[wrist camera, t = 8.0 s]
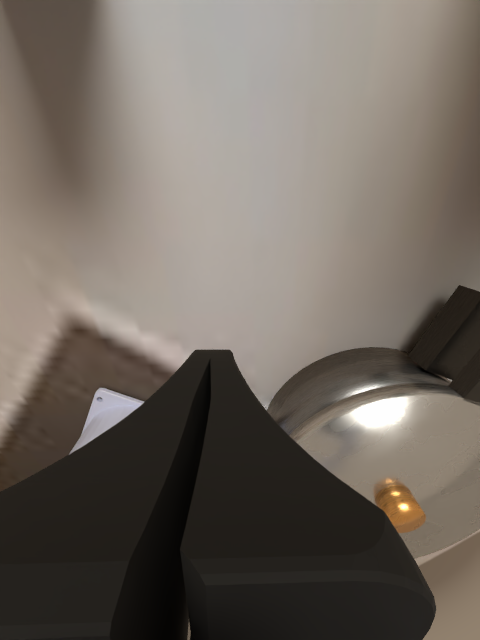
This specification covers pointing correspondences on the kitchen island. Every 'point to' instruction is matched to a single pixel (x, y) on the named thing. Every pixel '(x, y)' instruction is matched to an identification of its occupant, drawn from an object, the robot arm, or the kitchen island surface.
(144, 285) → the kitchen island surface
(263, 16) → the kitchen island surface
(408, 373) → the cooker pot
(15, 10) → the kitchen island surface
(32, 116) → the kitchen island surface
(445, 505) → the cooker lid
